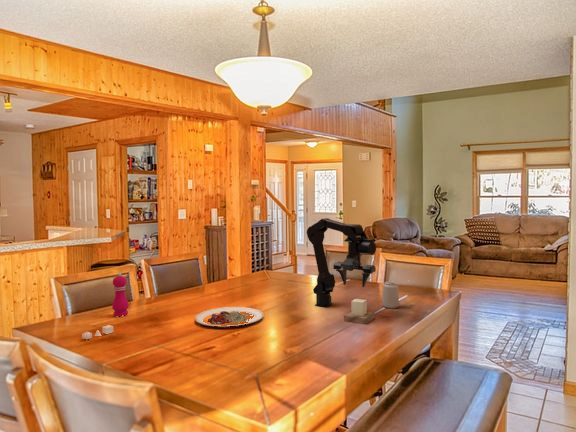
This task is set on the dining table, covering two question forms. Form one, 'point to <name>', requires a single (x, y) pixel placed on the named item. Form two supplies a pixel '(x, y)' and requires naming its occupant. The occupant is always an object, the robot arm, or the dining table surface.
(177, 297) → the dining table surface
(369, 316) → the plinth
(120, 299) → the pepper mill
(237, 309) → the plated food
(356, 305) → the block
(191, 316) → the dining table surface
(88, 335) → the game pieces
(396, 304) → the can
